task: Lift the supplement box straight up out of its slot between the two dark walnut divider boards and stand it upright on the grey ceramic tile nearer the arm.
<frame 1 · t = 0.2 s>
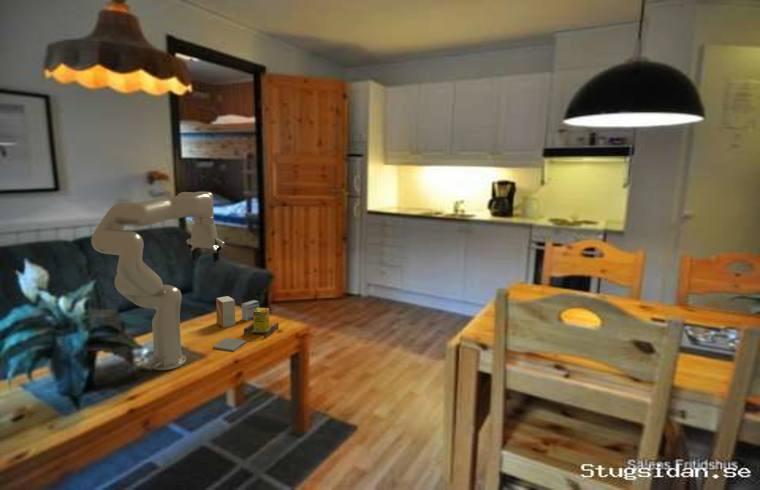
hand: (206, 260, 179), 37 cm above the table, tool pointing down, fingers open, 9 cm apart
divider rack: (261, 331, 197), on the table
small box: (226, 324, 204), on the table
grey tile: (230, 345, 181), on the table
medicine box: (250, 318, 213), on the table
supplement box: (261, 332, 197), on the table
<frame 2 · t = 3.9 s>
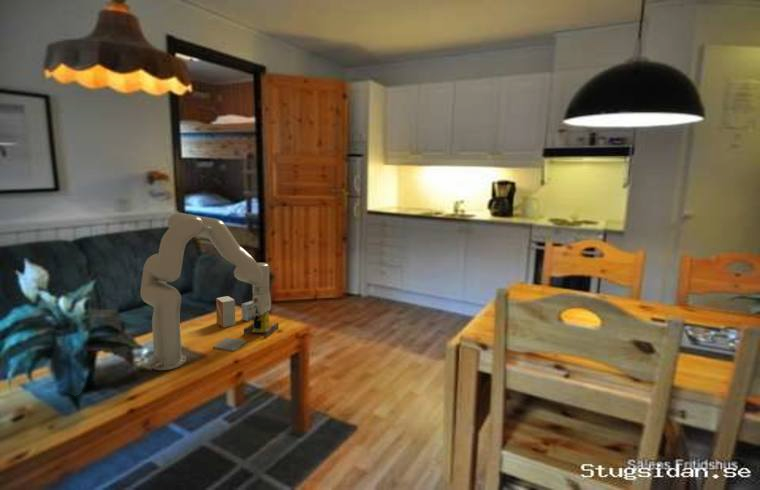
hand: (261, 325, 196), 3 cm above the table, tool pointing down, fingers closed on supplement box, 6 cm apart
supplement box: (261, 332, 197), on the table, touching gripper
everything else where it was.
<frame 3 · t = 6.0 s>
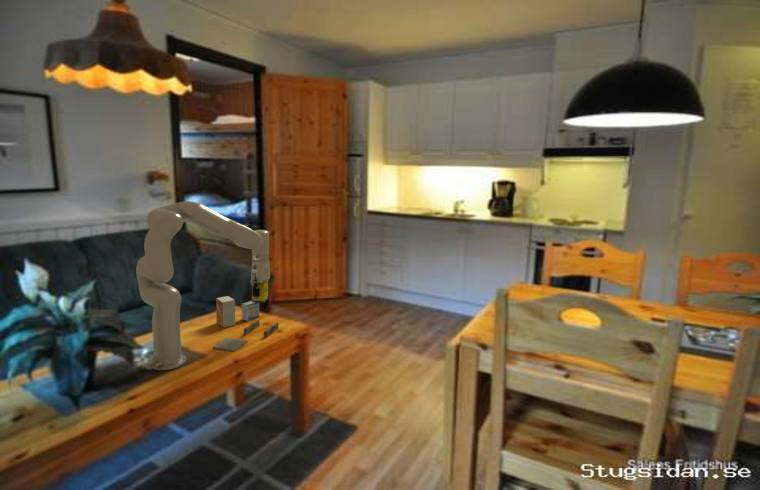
hand: (260, 294, 193), 19 cm above the table, tool pointing down, fingers closed on supplement box, 6 cm apart
supplement box: (260, 301, 194), point 15 cm above the table, touching gripper
everything else where it was.
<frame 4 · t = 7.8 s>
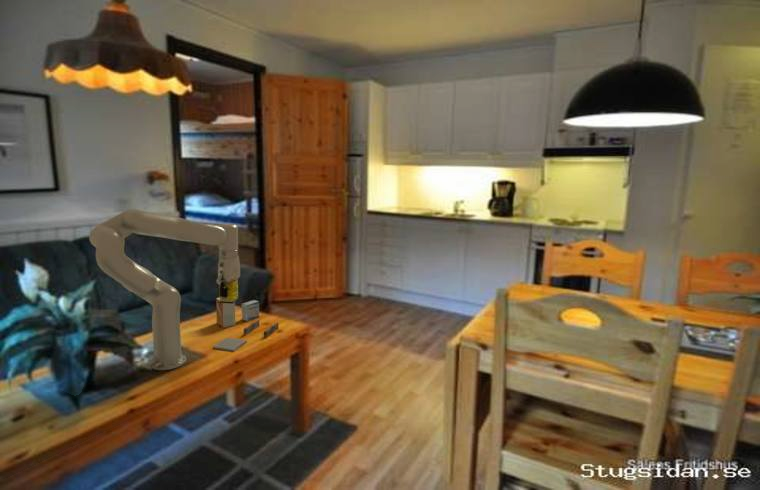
hand: (228, 294, 177), 23 cm above the table, tool pointing down, fingers closed on supplement box, 6 cm apart
supplement box: (228, 301, 177), point 20 cm above the table, touching gripper
everything else where it was.
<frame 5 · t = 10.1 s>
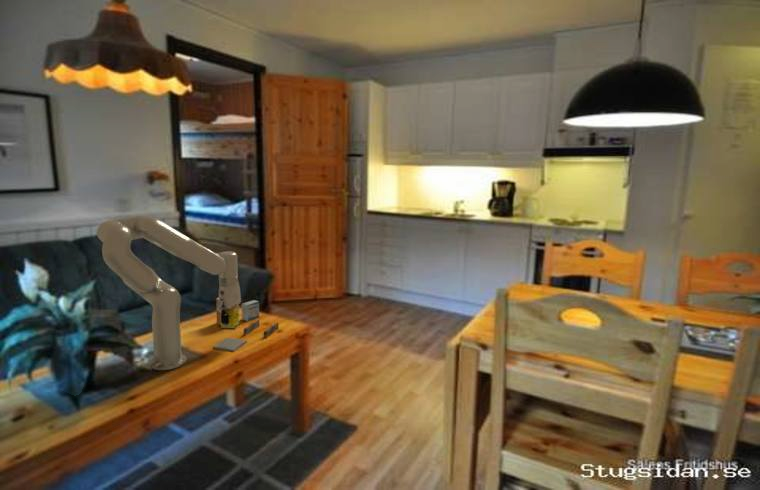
hand: (230, 320, 179), 11 cm above the table, tool pointing down, fingers closed on supplement box, 6 cm apart
supplement box: (230, 327, 179), point 8 cm above the table, touching gripper
everything else where it was.
when the fingers open (5 cm above the table, at t = 11.9 s): supplement box drops 1 cm, resting on grey tile.
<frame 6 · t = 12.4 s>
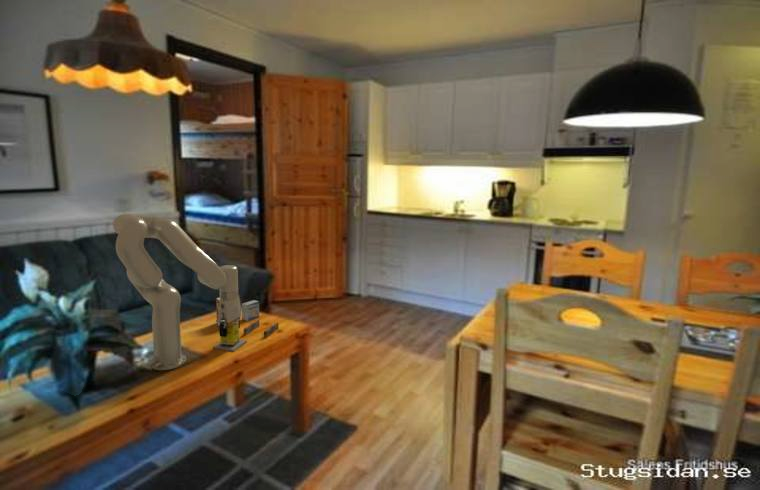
hand: (230, 332, 180), 6 cm above the table, tool pointing down, fingers open, 9 cm apart
supplement box: (230, 343, 181), point 1 cm above the table, touching grey tile
everything else where it was.
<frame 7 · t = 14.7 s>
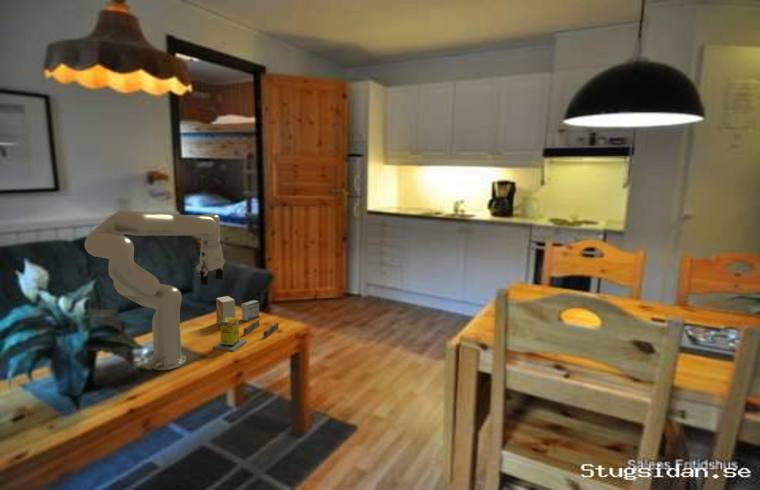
hand: (211, 281, 180), 27 cm above the table, tool pointing down, fingers open, 9 cm apart
nothing on the table moved.
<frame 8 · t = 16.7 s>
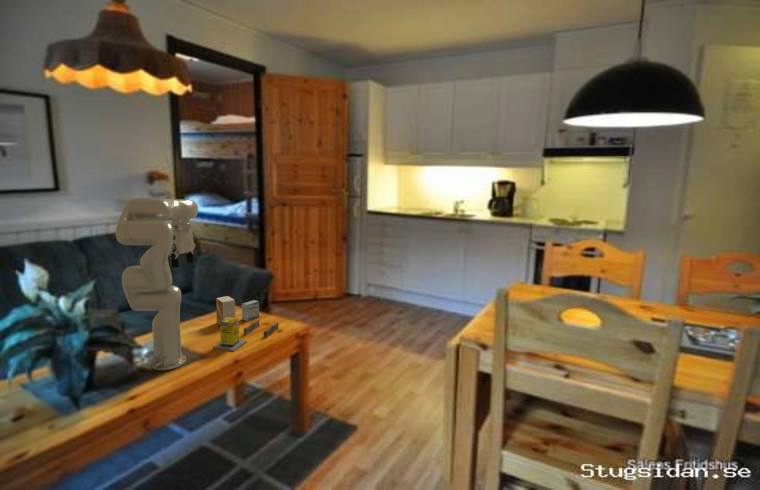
hand: (182, 264, 187), 32 cm above the table, tool pointing down, fingers open, 9 cm apart
nothing on the table moved.
at the end: supplement box 0.1 cm off-centre on the grey tile, point 0.6 cm above the grey tile's base; supplement box tilted 0°; the gripper is holding nothing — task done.
